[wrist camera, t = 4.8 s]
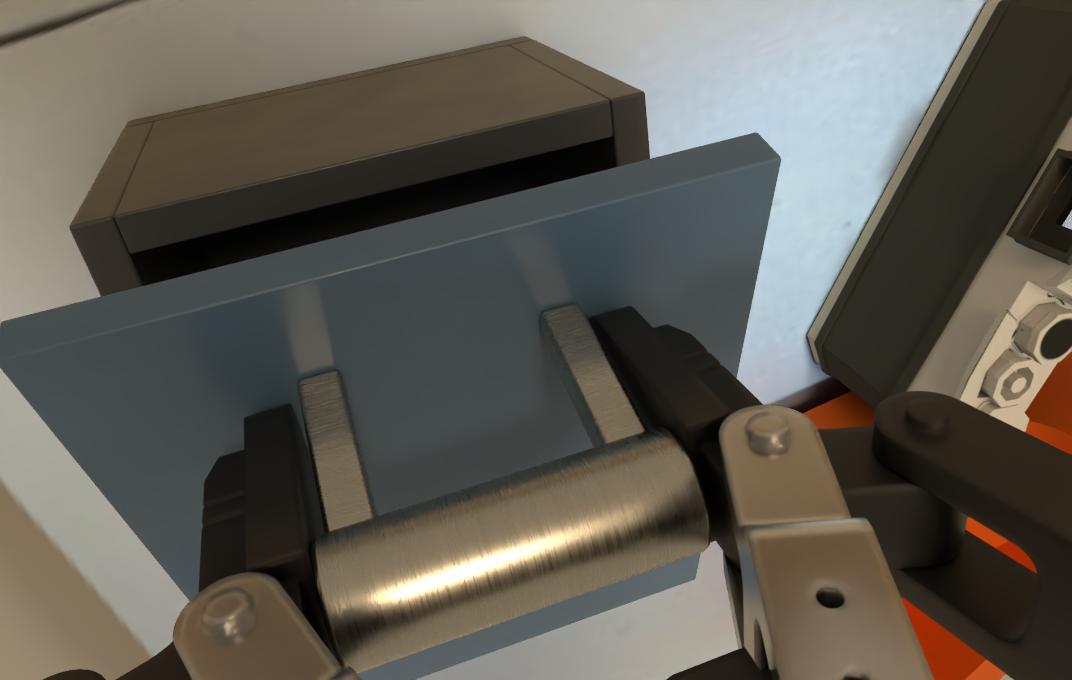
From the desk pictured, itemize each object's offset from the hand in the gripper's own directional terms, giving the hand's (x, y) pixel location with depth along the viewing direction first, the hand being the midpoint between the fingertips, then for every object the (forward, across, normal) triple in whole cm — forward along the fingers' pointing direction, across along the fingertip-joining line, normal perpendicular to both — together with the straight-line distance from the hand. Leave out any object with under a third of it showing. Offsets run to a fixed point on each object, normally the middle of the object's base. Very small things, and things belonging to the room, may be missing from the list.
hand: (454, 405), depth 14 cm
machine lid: (+2, 0, +4) cm, 4 cm away
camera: (+13, -22, +7) cm, 27 cm away
